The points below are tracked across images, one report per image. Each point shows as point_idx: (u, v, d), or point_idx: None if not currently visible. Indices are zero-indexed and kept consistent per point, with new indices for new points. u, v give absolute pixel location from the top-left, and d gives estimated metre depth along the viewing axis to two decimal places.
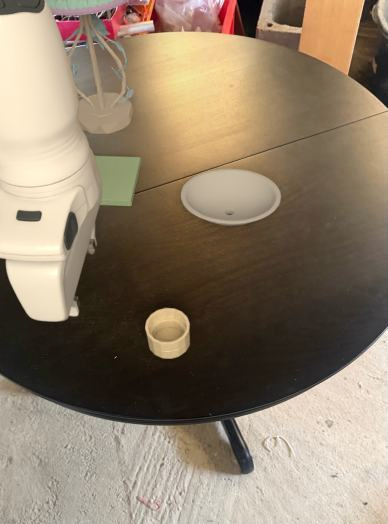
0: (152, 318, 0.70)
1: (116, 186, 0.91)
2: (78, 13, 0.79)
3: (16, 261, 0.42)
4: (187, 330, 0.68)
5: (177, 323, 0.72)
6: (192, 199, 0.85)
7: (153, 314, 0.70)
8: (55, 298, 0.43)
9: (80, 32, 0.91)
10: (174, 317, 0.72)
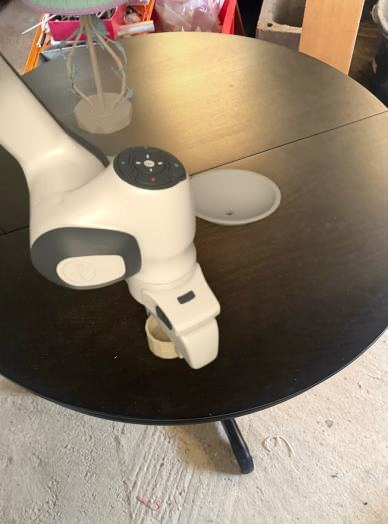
0: (152, 318, 0.70)
1: None
2: (78, 13, 0.79)
3: (188, 332, 0.57)
4: None
5: None
6: None
7: None
8: (215, 343, 0.59)
9: (80, 32, 0.91)
10: None
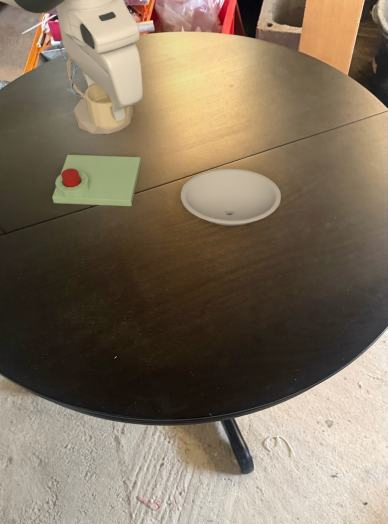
0: (93, 89, 0.76)
1: (116, 186, 0.91)
2: None
3: (110, 53, 0.62)
4: None
5: None
6: (192, 199, 0.85)
7: (93, 85, 0.76)
8: (139, 74, 0.65)
9: None
10: None
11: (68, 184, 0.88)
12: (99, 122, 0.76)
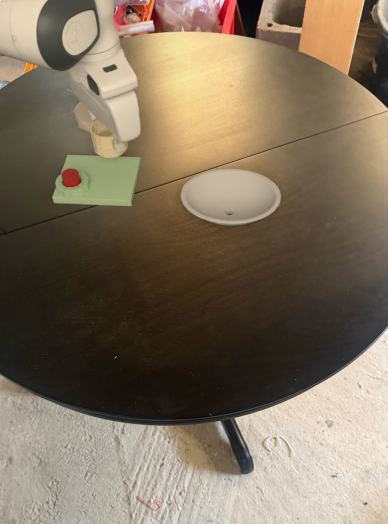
0: (96, 123, 0.87)
1: (116, 186, 0.91)
2: None
3: (112, 98, 0.73)
4: None
5: None
6: (192, 199, 0.85)
7: (96, 120, 0.86)
8: (137, 115, 0.76)
9: None
10: None
11: (68, 184, 0.88)
12: (102, 152, 0.86)
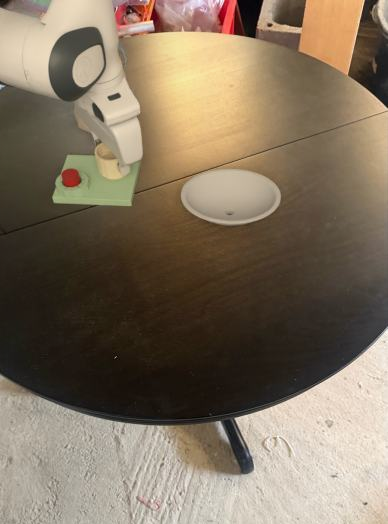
0: (100, 147, 0.91)
1: (116, 186, 0.91)
2: None
3: (116, 125, 0.77)
4: None
5: None
6: (192, 199, 0.85)
7: (101, 143, 0.91)
8: (139, 140, 0.80)
9: None
10: None
11: (68, 184, 0.88)
12: (106, 174, 0.90)
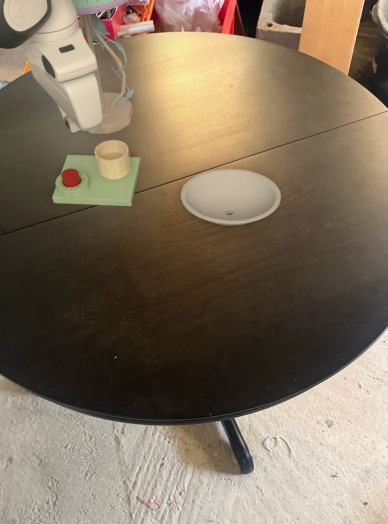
0: (100, 147, 0.91)
1: (116, 186, 0.91)
2: (78, 13, 0.79)
3: (70, 82, 0.68)
4: (126, 152, 0.89)
5: (121, 154, 0.92)
6: (192, 199, 0.85)
7: (101, 143, 0.91)
8: (97, 101, 0.70)
9: None
10: (118, 149, 0.92)
11: (68, 184, 0.88)
12: (106, 174, 0.90)
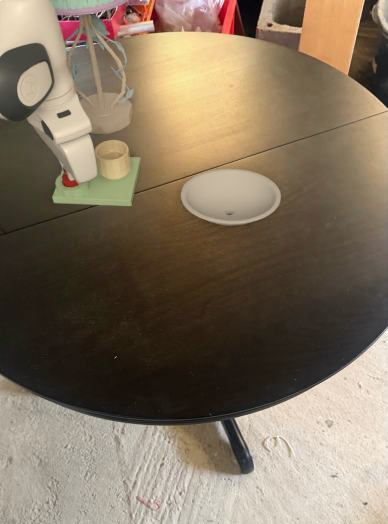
0: (100, 147, 0.91)
1: (116, 186, 0.91)
2: (78, 13, 0.79)
3: (67, 143, 0.74)
4: (126, 152, 0.89)
5: (121, 154, 0.92)
6: (192, 199, 0.85)
7: (101, 143, 0.91)
8: (93, 158, 0.77)
9: (80, 32, 0.91)
10: (118, 149, 0.92)
11: (69, 186, 0.88)
12: (106, 174, 0.90)
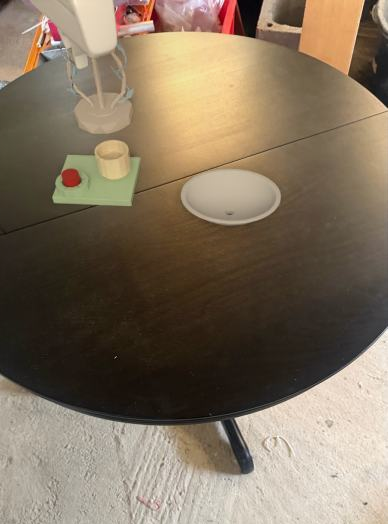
0: (100, 147, 0.91)
1: (116, 186, 0.91)
2: None
3: None
4: (126, 152, 0.89)
5: (121, 154, 0.92)
6: (192, 199, 0.85)
7: (101, 143, 0.91)
8: (111, 15, 0.54)
9: None
10: (118, 149, 0.92)
11: (68, 184, 0.88)
12: (106, 174, 0.90)
